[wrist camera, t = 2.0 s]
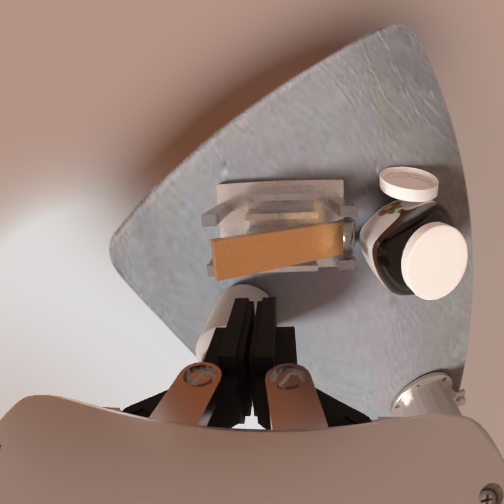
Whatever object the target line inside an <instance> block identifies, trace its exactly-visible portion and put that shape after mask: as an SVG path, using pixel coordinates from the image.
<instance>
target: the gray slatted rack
mask: <svg viewBox="0 0 504 504" xmlns="http://www.w3.org/2000/svg"><path fill="white" fill-rule="evenodd" d="M216 187H217V200H218V205H217V206H216V207H214V208H213V209H211V210H209V211H208V212H206V213H204V214H203V215H201V216H202V226H203V227H207V226H217V225H218V224H219V223H220V234H221V238H224V237H230V236H236V235H243V234H249V233H256V232H262V231H269V230H276V229H283V228H289V227H296V226H303V225H310V224H317V223H325V222H332V221H338V220H339V219H344V217H358V206H357V205H355V204H353V203H351V202H349V201H347V200H345V199H344V182H343V180H342V179H324V180H282V181H260V182H242V183H228V184H217V185H216ZM318 267H337V268H338V270H339V271H347V270H355V269H356V259H355V258H354V257H353V255H352V254H341V255H337V256H333V257H328V258H324V259H319V260H315V261H310V262H305V263H301V264H296V265H292V266H287V267H282V268H278V269H273V270H268V271H263V272H259V273H270V272H303V271H318ZM207 271H208V276H215V274H214V265H213V258H212V260H211V261H210V262H209V264H208V265H207Z"/></svg>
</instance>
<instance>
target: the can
mask: <svg viewBox="0 0 504 504" xmlns="http://www.w3.org/2000/svg"><path fill="white" fill-rule="evenodd" d="M263 297H269V296H268V295H267V294H266V293H265V292H264V291H262V290H261V289H259V288H257V287H254V286H251V285H242V284H239V285H235V286H231V287H229V288H228V289H226V290H225V291H223V292H222V294H221V295H220V296H219V297H218V299H217V301H216V303H215V305H214V308H213V310H212V312H211V314H210V316H209V318H208V320H207V323H206V325H205V327H204V329H203V331H202V333H201V335H200V338H199V340H198V343H197V346H196V356H197V359H198V362H203V361H204V358H205V355H206V353H207V350H208V347H209V344H210V342H211V339H212V336H213V334H214V331H215V329H216V328H217V327H226V326H227V323H228V320H229V317H230V314H231V310H232V307H233V304H234V301H235V298H249V301H254V309H255V313H256V307H257V301H262V298H263Z"/></svg>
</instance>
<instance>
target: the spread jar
mask: <svg viewBox="0 0 504 504" xmlns="http://www.w3.org/2000/svg"><path fill="white" fill-rule="evenodd" d="M438 185H439V181H438V179H437V178H436V177H435V176H434V175H432V174H431V173H429V172H427V171H424V170H421V169H417V168H412V167H390V168H386V169H384V170H383V171H381V173H380V189H381V190H382V191H383V192H384V193H385V194H387V195H389V196H391V197H393V198H396V199H398V200H395V201H392V202H390V203H388V204H386V205H384V206H382V207H381V208H379V209H378V210H377V211H375V212H374V213H373V214H372V215H371V216H370V217H369V219H368V220H367V221H366V222H365V224H364V225H363V227H362V229H361V231H360V235H359V240H360V246H361V249H362V252H363V255H364V257H365V259H366V261H367V263H368V265H369V267H370V268H371V270H372V271H373V272H374V274H375V275H376V276H377V278H378V279H379V280H380V281H381V282H382V284H383V285H384V286H385V287H386V288H387V289H388V290H390V291H391V292H393V293H395V294H397V295H414V294H416V295H417V296H418V297H420V298H422V299H425V300H435V299H439V298H441V297H444V296H445V295H447V294H449V293H450V292H451V291H452V290H453V289H454V288H455V287H456V286H457V285H458V283H459V282H460V280H461V278H462V276H463V274H464V272H465V269H466V265H467V258H468V251H467V245H466V242H465V239H464V237H463V236H462V234H461V233H460V232H459V231H458V230H457V229H456V227H455V225H454V223H453V221H452V219H451V217H450V215H449V213H448V212H447V211H446V209H445V208H444V207H443V206H442V205H441V204H439V203H437V202H435V201H432V200H433V199H434V198H436V196H437V195H438Z"/></svg>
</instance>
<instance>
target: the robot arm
mask: <svg viewBox="0 0 504 504" xmlns="http://www.w3.org/2000/svg"><path fill="white" fill-rule="evenodd" d="M452 387H453V382H452V380H451V378H450V376H449V375H448V374H446V373H444V372H434V373H429V374H427V375H424V376H422V377H420V378H418V379H416V380H415V381H413V382H411V383H410V384H409V385H407V386H406V387H405V388H404V389H403V390H402V391H401V392H400V393H399V394H398V395H397V397H396V398H395V400H394V402H393V404H392V408H391V411H392V415H393V417H378V419H377V420H370V418H369V417H367V416H366V415H365V414H363V413H361V412H359V411H357V410H355V409H353V408H351V407H349V406H347V405H346V404H344V403H342V402H340V401H338V400H336V399H334V398H333V397H331V396H329V395H327V394H325V393H324V392H322V391H320V390H318V389H316V388H315V386H314V383H313V380H312V377H311V375H310V373H309V371H308V370H307V369H306V368H305V367H303V366H301V365H298V364H297V355H296V341H295V328H294V326H293V327H277V326H276V298H275V297H263V298H262V301H257V307H256V313H255V309H254V301H249V298H235V301H234V304H233V307H232V310H231V314H230V317H229V320H228V323H227V326H226V327H217V328H216V329H215V331H214V334H213V336H212V339H211V342H210V344H209V347H208V350H207V353H206V355H205V358H204V361H203V362H198V363H193V364H191V365H188V366H187V367H185V368H184V369H183V370H182V371H181V372H180V373H179V375H178V376H177V378H176V379H175V381H174V382H173V384H172V385H171V387H170V388H169V389H168V390H166V391H164V392H162V393H159V394H157V395H155V396H153V397H150V398H148V399H145V400H143V401H141V402H138V403H136V404H133V405H131V406H129V407H127V408H125V409H124V410H123V411H121V410H120V408H110V407H100V406H96V405H92V404H88V403H85V402H81V401H77V400H74V399H69V398H65V397H60V396H52V395H33V396H28V397H25V398H23V399H22V400H20V401H19V402H18V403H16V404H15V405H14V406H13V407H12V408H11V409H10V410H9V411H8V412H7V413H6V414H5V416H4V417H3V418H2V419H1V420H0V504H504V459H503V458H502V455H501V453H500V452H499V450H498V448H497V446H496V445H495V443H494V441H493V440H492V438H491V437H490V435H489V434H488V433H487V431H486V430H485V429H484V428H483V427H482V426H481V425H480V424H479V423H478V422H476V421H475V420H473V419H471V418H469V417H466V416H462V414H461V412H460V411H459V409H458V406H461V405H464V404H465V397H464V395H465V390H464V389H463V390H459V391H457V392H455V391H453V389H452ZM252 400H253V408H254V416H257V417H258V423H259V424H260V425H262V427H264V428H265V429H266V430H264V429H260V430H259V429H235V428H234V429H233V428H232V427H233V426H235V425H237V424H244V422H245V416H250V415H251V408H252Z"/></svg>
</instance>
